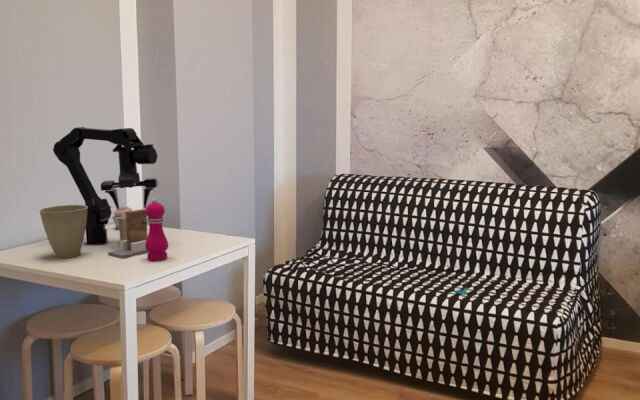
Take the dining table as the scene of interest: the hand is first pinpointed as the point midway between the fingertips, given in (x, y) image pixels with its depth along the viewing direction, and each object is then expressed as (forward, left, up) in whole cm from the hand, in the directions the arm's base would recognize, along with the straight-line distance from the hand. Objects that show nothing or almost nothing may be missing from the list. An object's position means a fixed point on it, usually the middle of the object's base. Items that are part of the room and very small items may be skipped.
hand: (131, 208), depth 240 cm
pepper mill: (+11, -22, -13) cm, 28 cm away
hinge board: (+3, -11, -13) cm, 17 cm away
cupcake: (-8, +32, -13) cm, 36 cm away
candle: (-3, +7, -13) cm, 16 cm away
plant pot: (-20, -12, -13) cm, 27 cm away
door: (+3, -11, -12) cm, 16 cm away
